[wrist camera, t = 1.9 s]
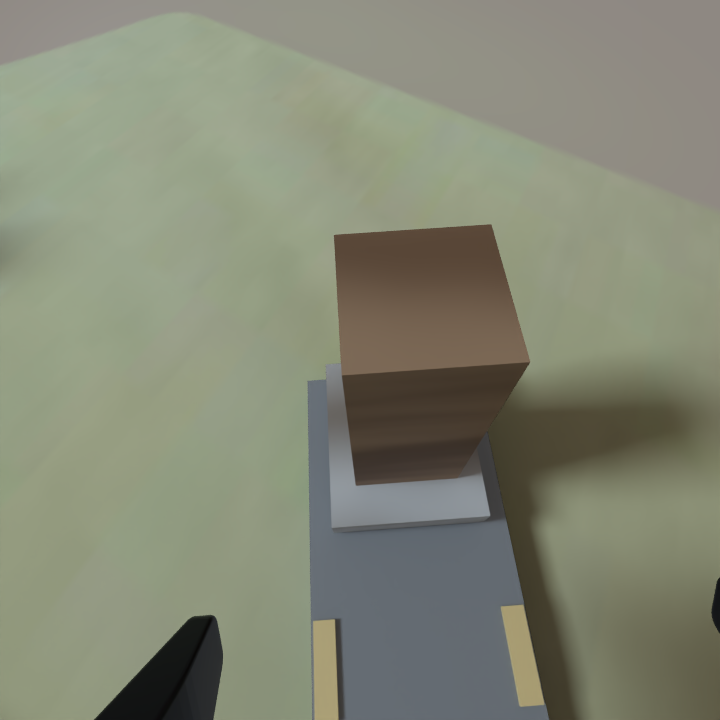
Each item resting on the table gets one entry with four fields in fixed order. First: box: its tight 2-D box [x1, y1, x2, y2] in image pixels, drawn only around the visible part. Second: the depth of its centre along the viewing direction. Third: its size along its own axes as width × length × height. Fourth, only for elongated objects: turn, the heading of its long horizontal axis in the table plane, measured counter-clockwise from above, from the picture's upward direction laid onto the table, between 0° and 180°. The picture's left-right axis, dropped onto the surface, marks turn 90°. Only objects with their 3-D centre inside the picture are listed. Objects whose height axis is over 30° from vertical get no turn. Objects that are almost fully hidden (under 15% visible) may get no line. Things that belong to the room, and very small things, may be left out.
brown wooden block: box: [326, 225, 530, 533], centre depth 15 cm, size 7×6×11 cm
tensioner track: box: [308, 380, 549, 720], centre depth 17 cm, size 18×8×4 cm, turn 4°
